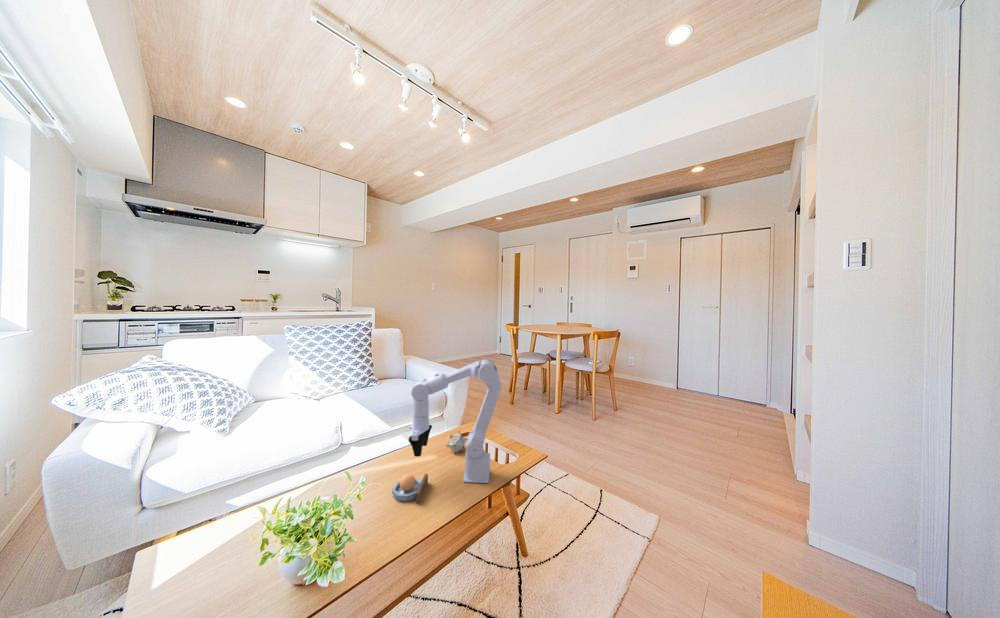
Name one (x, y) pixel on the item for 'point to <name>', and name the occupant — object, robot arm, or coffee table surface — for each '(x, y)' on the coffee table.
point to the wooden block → (421, 488)
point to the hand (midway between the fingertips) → (420, 450)
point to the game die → (456, 442)
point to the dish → (405, 492)
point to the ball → (407, 482)
